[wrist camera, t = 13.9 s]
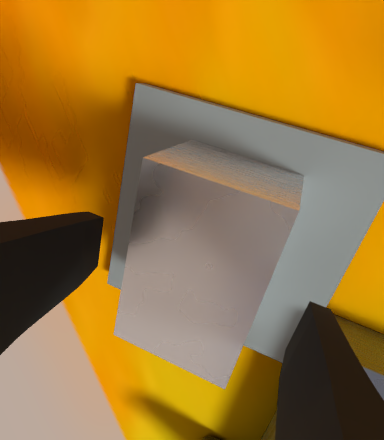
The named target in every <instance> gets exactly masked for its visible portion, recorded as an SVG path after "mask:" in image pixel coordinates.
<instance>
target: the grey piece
mask: <svg viewBox="0 0 384 440" xmlns="http://www.w3.org/2000/svg"><path fill="white" fill-rule="evenodd" d="M334 316H335V318H336V320H337V322H338V324H339V326H340V327H341V329H342V331H343V333H344V335H345V337H346V339H347V340H348V342H349V344H350V346H351V348H352V349H353V351H354V353H355V355H356V357H357V358H358V360H359V362H360V363H361V365H362V367H363V369H364V370H365V372H366V373H367V375H368V377H369V378H370V380H371V382H372V383H373V385H374V386H375V388H376V389H377V391H378V392H379V394H380V395H381V397H382V399H383V400H384V335H383V334H381V333H378V332H376V331H373V330H371V329H368V328H366V327H364V326H361V325H359V324H356V323H354V322H351V321H349V320H346V319H344V318H341V317H339V316H336V315H334ZM276 416H277V411H276V413H275V415H274V416H273V418H272V420H271V422H270V424H269V425H268V427H267V429H266V431H265V433H264V434H263V436H262V438H261V440H275V431H276Z"/></svg>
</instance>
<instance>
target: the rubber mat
mask: <svg viewBox="0 0 384 440" xmlns="http://www.w3.org/2000/svg"><path fill="white" fill-rule="evenodd" d="M189 140H193V141H196V142H200V143H203V144H206V145H209V146H212V147H215V148H219V149H222V150H225V151H228V152H231V153H234V154H238V155H241V156H244V157H247V158H250V159H253V160H257V161H260V162H263V163H266V164H269V165H272V166H276V167H279V168H282V169H285V170H288V171H291V172H295V173H298V174H301V175H304V182H303V189H302V196H301V203H300V210H299V213H298V215H297V218H296V220H295V222H294V225H293V227H292V230H291V232H290V234H289V237H288V239H287V242H286V244H285V246H284V249H283V251H282V254H281V256H280V258H279V261H278V263H277V266H276V268H275V270H274V273H273V275H272V278H271V280H270V282H269V285H268V287H267V290H266V292H265V294H264V297H263V299H262V302H261V304H260V306H259V309H258V311H257V314H256V316H255V318H254V321H253V323H252V326H251V328H250V330H249V333H248V335H247V337H246V340H245V342H244V346H246V347H248V348H251V349H253V350H255V351H257V352H259V353H262V354H264V355H266V356H268V357H270V358H273V359H275V360H277V361H279V362H281V363H283V358H284V354H285V349H286V347H287V345H288V343H289V341H290V339H291V337H292V335H293V333H294V331H295V329H296V327H297V325H298V323H299V321H300V319H301V318H302V316H303V314H304V312H305V310H306V308H307V306H308V304H309V302H310V301H311V302H314V303H316V304H319V305H321V306H323V307H327V305H328V303H329V301H330V299H331V298H332V296H333V294H334V292H335V290H336V288H337V286H338V285H339V283H340V281H341V279H342V277H343V275H344V273H345V272H346V270H347V268H348V266H349V264H350V262H351V260H352V259H353V257H354V255H355V253H356V251H357V249H358V248H359V246H360V244H361V242H362V240H363V238H364V236H365V235H366V233H367V231H368V229H369V227H370V225H371V223H372V222H373V220H374V218H375V216H376V214H377V212H378V211H379V209H380V207H381V205H382V203H383V201H384V151H380V150H377V149H373V148H370V147H366V146H363V145H359V144H356V143H352V142H349V141H345V140H342V139H338V138H335V137H331V136H328V135H324V134H321V133H317V132H314V131H310V130H307V129H303V128H300V127H296V126H293V125H289V124H286V123H282V122H279V121H275V120H271V119H268V118H264V117H261V116H257V115H254V114H250V113H247V112H243V111H240V110H236V109H233V108H229V107H226V106H222V105H219V104H215V103H212V102H208V101H205V100H201V99H198V98H194V97H191V96H187V95H184V94H180V93H177V92H173V91H170V90H166V89H163V88H159V87H156V86H152V85H149V84H145V83H136V85H135V92H134V99H133V106H132V113H131V120H130V127H129V135H128V142H127V149H126V156H125V163H124V170H123V177H122V184H121V191H120V198H119V205H118V212H117V219H116V226H115V233H114V240H113V247H112V254H111V261H110V268H109V275H108V284H110V285H112V286H114V287H116V288H119V289H121V287H122V281H123V275H124V269H125V263H126V257H127V251H128V245H129V239H130V233H131V227H132V221H133V215H134V208H135V202H136V196H137V190H138V184H139V178H140V172H141V166H142V160H143V157H145V156H148V155H151V154H154V153H156V152H159V151H162V150H165V149H167V148H170V147H173V146H176V145H178V144H181V143H184V142H187V141H189Z"/></svg>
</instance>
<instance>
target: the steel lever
mask: <svg viewBox="0 0 384 440" xmlns="http://www.w3.org/2000/svg"><path fill="white" fill-rule="evenodd" d="M202 440H220V439H218V438H215V437H205V438H203V439H202Z"/></svg>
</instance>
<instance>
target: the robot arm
mask: <svg viewBox="0 0 384 440" xmlns="http://www.w3.org/2000/svg"><path fill="white" fill-rule="evenodd" d="M103 219H104V218H103V217H100V216H98V215H96V214H93V213H91V212H77V213H68V214H61V215H54V216H47V217H40V218H33V219H26V220H17V221H8V222H0V355H1V354H2V353H3V352H4V351H5V350H6V349H7V348H8V347H9V346H10V345H11V344H12V343H13V342H14V341H15V340H16V339H17V338H18V337H19V336H20V335H21V334H22V333H24V332H25V331H26V330H27V329H28V328H29V327H31V326H32V325H33V324H34V323H35V322H37V321H38V320H39V319H40V318H42V317H43V316H44V315H45V314H46V313H48V312H49V311H50V310H51V309H52V308H54V307H55V306H56V305H57V304H59V303H60V302H61V301H62V300H64V299H65V298H66V297H67V296H68V295H69V294H71V293H72V292H73V291H74V290H75V289H77V288H78V287H79V286H80V285H81V284H82V283H83V282H84V281H85V280H86V279H87V278H88V276H89V275H90V274H91V273H92V272H93V271H94V270H95V268H96V267H97V266H98V259H99V251H100V243H101V235H102V227H103ZM275 440H384V400H383V399H382V397H381V395H380V394H379V392H378V391H377V389H376V388H375V386H374V385H373V383H372V382H371V380H370V378H369V377H368V375H367V373H366V372H365V370H364V369H363V367H362V365H361V363H360V362H359V360H358V358H357V357H356V355H355V353H354V351H353V349H352V348H351V346H350V344H349V342H348V340H347V339H346V337H345V335H344V333H343V331H342V329H341V327H340V326H339V324H338V322H337V320H336V318H335V316H334V314H333V313H332V311H331V309H328V308H326V307H323V306H321V305H319V304H316V303H314V302H311V301H310V302H309V304H308V306H307V308H306V310H305V312H304V314H303V316H302V318H301V319H300V321H299V323H298V325H297V327H296V329H295V331H294V333H293V335H292V337H291V339H290V341H289V343H288V345H287V347H286V349H285V354H284V358H283V363H282V368H281V373H280V379H279V389H278V402H277V416H276V431H275Z"/></svg>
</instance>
